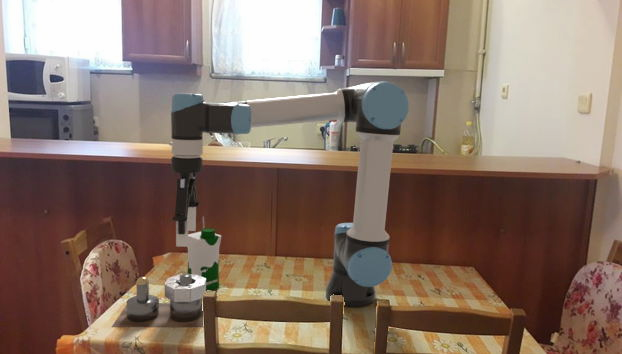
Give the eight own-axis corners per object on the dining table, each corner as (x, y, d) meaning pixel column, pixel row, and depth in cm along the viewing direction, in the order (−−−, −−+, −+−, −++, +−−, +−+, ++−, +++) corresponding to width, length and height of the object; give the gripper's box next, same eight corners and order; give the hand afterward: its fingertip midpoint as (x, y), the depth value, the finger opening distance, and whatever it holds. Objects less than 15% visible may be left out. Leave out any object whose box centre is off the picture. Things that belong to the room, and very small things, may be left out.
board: (127, 308, 134) (127, 302, 134) (215, 308, 136) (215, 303, 136) (111, 332, 120) (111, 326, 120) (209, 332, 122) (209, 326, 122)
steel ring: (170, 286, 131) (170, 274, 131) (207, 286, 132) (207, 274, 132) (162, 301, 122) (162, 288, 121) (202, 302, 122) (202, 288, 122)
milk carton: (200, 300, 141) (201, 234, 138) (181, 291, 146) (181, 228, 143) (223, 292, 148) (224, 228, 144) (205, 283, 153) (205, 222, 150)
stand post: (173, 308, 131) (173, 270, 130) (203, 308, 132) (203, 270, 130) (167, 322, 124) (166, 281, 122) (198, 322, 124) (199, 281, 123)
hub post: (131, 308, 130) (130, 271, 129) (161, 308, 131) (161, 271, 129) (122, 322, 123) (121, 283, 121) (155, 322, 123) (154, 283, 122)
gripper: (180, 149, 132) (179, 224, 136) (161, 162, 108) (161, 253, 111) (207, 150, 133) (207, 225, 137) (195, 163, 109) (194, 253, 112)
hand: (186, 238), depth 124 cm, fingers open, 13 cm apart
